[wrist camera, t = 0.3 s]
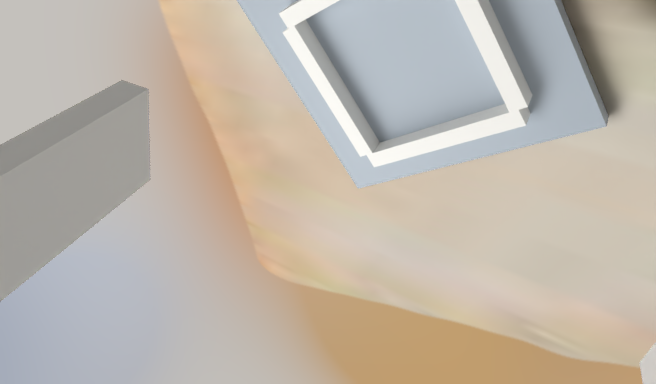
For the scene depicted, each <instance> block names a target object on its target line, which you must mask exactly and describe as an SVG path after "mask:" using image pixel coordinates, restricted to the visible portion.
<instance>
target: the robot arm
mask: <svg viewBox="0 0 656 384" xmlns="http://www.w3.org/2000/svg"><path fill="white" fill-rule="evenodd" d="M149 140H150V139H149V90H148V89H147V88H144V87H141V86H138V85H135V84H132V83H129V82H126V81H123V80H121V81H119V82H118V83H116V84H114V85H112V86H110V87H108V88H107V89H105V90H103V91H101V92H99V93H97V94H95V95H93V96H91V97H89V98H88V99H86V100H84V101H82V102H80V103H78V104H76V105H74V106H73V107H71V108H69V109H67V110H65V111H63V112H61V113H60V114H57V115H56V116H54V117H52V118H50V119H48V120H46V121H44V122H42V123H40V124H39V125H37V126H35V127H33V128H31V129H29V130H28V131H25V132H24V133H22V134H20V135H18V136H16V137H15V138H12V139H10V140H9V141H7V142H5V143H3V144H1V145H0V301H1V300H3V299H4V298H5V297H6V296H7V295H9V294H10V293H11V292H12V291H14V290H15V289H16V288H17V287H19V286H20V285H21V284H22V283H24V282H25V281H26V280H27V279H29V278H30V277H31V276H32V275H34V274H35V273H36V272H37V271H38V270H40V269H41V268H42V267H43V266H45V265H46V264H47V263H48V262H50V261H51V260H52V259H53V258H54V257H56V256H57V255H58V254H59V253H61V252H62V251H63V250H64V249H66V248H67V247H68V246H69V245H70V244H72V243H73V242H74V241H75V240H77V239H78V238H79V237H80V236H82V235H83V234H84V233H85V232H86V231H88V230H89V229H90V228H91V227H93V226H94V225H95V224H96V223H98V222H99V221H100V220H101V219H102V218H104V217H105V216H106V215H107V214H108V213H110V212H111V211H112V210H114V209H115V208H116V207H117V206H118V205H120V204H121V203H122V202H123V201H125V200H126V199H127V198H128V197H130V196H131V195H132V194H133V193H135V192H136V191H137V190H138V189H139V188H140V187H142V186H143V185H144V184H145V183H147V182H148V181H149V180H150V144H149V143H150V141H149ZM640 368H641V375H642V381H643V384H656V342H655V344H654V345H653V346H652V347H651V349H650V350H649V351H648V352H647V354H646V355H645V356H644V357H643V359H642V360H641V361H640Z"/></svg>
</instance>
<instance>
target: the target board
mask: <svg viewBox="0 0 656 384" xmlns="http://www.w3.org/2000/svg"><path fill="white" fill-rule="evenodd" d="M237 2H238V3H239V5H240V6H241V8H242V9H243V11H244V12H245V14H246V16H247V17H248V19H249V20H250V22H251V23H252V25H253V26H254V28H255V29H256V31H257V33H258V34H259V36H260V37H261V39H262V40H263V42H264V43H265V45H266V47H267V48H268V50H269V51H270V53H271V54H272V56H273V57H274V59H275V60H276V62H277V64H278V65H279V67H280V68H281V70H282V71H283V73H284V74H285V76H286V77H287V79H288V81H289V82H290V84H291V85H292V87H293V88H294V90H295V91H296V93H297V95H298V96H299V98H300V99H301V101H302V102H303V104H304V105H305V107H306V108H307V110H308V112H309V113H310V115H311V116H312V118H313V119H314V121H315V122H316V124H317V126H318V127H319V129H320V130H321V132H322V133H323V135H324V136H325V138H326V139H327V141H328V143H329V144H330V146H331V147H332V149H333V150H334V152H335V153H336V155H337V157H338V158H339V160H340V161H341V163H342V164H343V166H344V167H345V169H346V170H347V172H348V174H349V175H350V177H351V178H352V180H353V181H354V183H355V184H356V186H357V188H362V187H366V186H370V185H374V184H378V183H382V182H386V181H390V180H394V179H398V178H402V177H406V176H410V175H414V174H418V173H422V172H426V171H430V170H434V169H438V168H442V167H446V166H450V165H454V164H458V163H462V162H466V161H470V160H474V159H478V158H482V157H486V156H490V155H494V154H498V153H502V152H506V151H510V150H514V149H518V148H522V147H526V146H530V145H534V144H538V143H542V142H546V141H550V140H554V139H558V138H562V137H566V136H570V135H574V134H578V133H582V132H586V131H590V130H594V129H598V128H602V127H606V126H607V122H608V117H609V116H608V114H607V111H606V109H605V107H604V104H603V102H602V99H601V97H600V94H599V92H598V89H597V87H596V85H595V82H594V80H593V77H592V75H591V72H590V70H589V67H588V65H587V63H586V60H585V58H584V55H583V53H582V50H581V48H580V45H579V43H578V41H577V38H576V36H575V33H574V31H573V28H572V26H571V23H570V21H569V19H568V16H567V14H566V11H565V9H564V6H563V4H562V2H561V0H237Z"/></svg>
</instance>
